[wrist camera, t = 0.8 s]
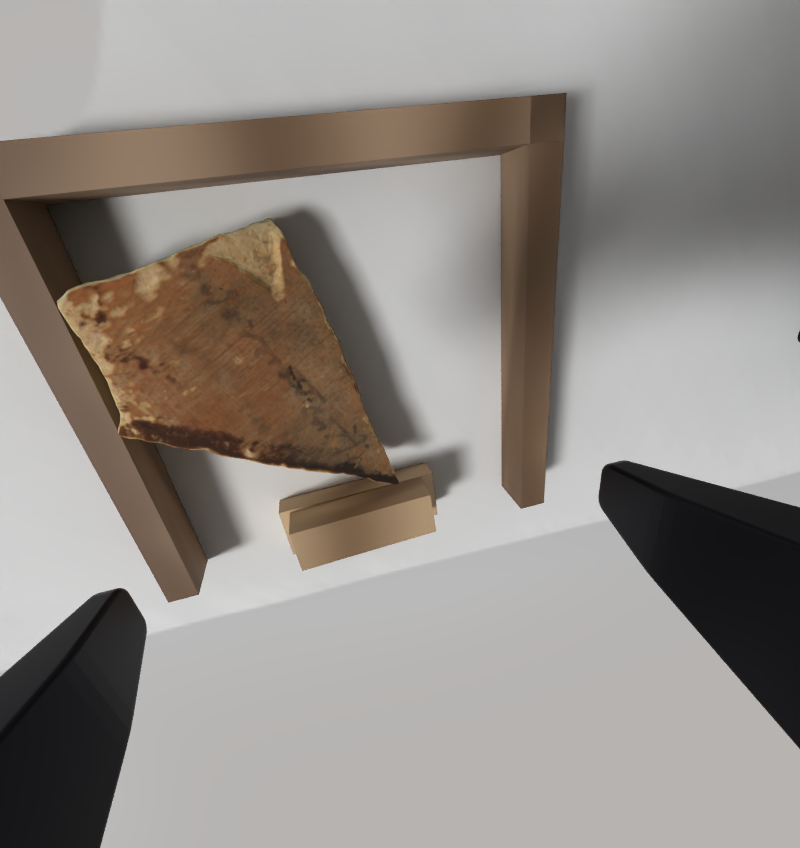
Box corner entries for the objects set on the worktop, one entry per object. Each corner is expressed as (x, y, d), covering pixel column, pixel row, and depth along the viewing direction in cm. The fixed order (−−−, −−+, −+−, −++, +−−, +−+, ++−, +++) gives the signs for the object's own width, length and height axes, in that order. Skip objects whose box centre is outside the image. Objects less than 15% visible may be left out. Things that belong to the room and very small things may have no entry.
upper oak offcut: (420, 476, 18) (430, 494, 17) (426, 511, 19) (436, 531, 18) (289, 512, 17) (289, 534, 16) (302, 547, 18) (302, 570, 17)
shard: (388, 469, 18) (403, 487, 17) (228, 556, 17) (227, 584, 15) (276, 216, 14) (282, 208, 12) (39, 305, 12) (9, 309, 10)
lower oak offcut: (422, 457, 20) (432, 473, 18) (428, 496, 21) (437, 514, 19) (279, 494, 19) (278, 513, 17) (293, 533, 20) (293, 554, 18)
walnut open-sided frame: (532, 110, 14) (566, 92, 12) (522, 480, 21) (543, 502, 19) (-24, 161, 11) (-82, 148, 10) (180, 567, 18) (168, 602, 17)
